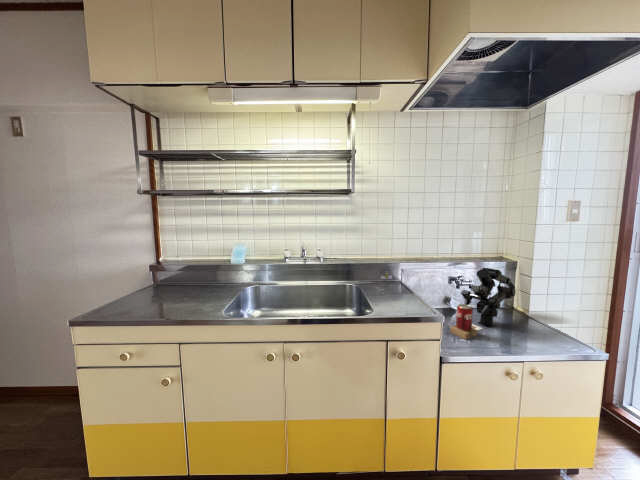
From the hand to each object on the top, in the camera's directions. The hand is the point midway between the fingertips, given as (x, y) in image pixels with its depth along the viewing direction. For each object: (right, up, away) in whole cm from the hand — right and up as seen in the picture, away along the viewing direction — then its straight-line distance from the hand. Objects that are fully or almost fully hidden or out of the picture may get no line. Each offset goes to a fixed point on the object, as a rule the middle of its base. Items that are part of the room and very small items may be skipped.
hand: (472, 311), depth 144 cm
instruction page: (+1, -10, +4) cm, 11 cm away
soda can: (-7, -8, -3) cm, 11 cm away
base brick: (-7, -11, -3) cm, 13 cm away
